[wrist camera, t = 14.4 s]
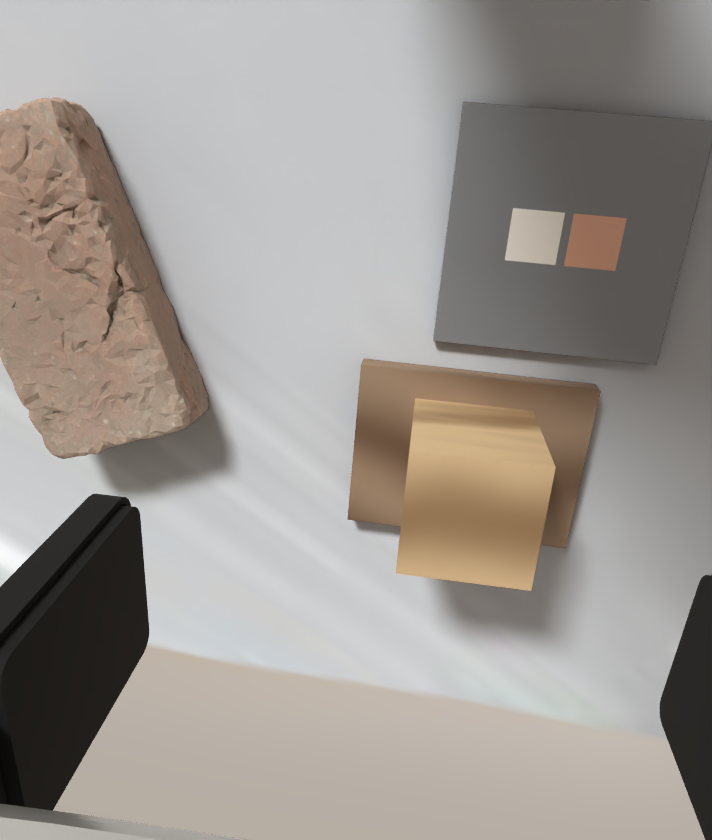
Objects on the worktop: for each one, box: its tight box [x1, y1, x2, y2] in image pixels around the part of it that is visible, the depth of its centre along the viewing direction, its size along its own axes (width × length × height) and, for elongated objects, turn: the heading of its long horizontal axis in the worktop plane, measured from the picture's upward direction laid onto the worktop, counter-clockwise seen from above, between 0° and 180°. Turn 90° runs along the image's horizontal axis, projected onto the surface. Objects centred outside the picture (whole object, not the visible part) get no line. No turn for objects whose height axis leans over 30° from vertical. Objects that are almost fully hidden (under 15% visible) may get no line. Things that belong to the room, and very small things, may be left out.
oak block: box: [396, 398, 556, 591], centre depth 32 cm, size 6×6×7 cm
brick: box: [0, 98, 209, 459], centre depth 33 cm, size 17×8×5 cm, turn 18°
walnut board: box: [348, 359, 601, 548], centre depth 35 cm, size 9×12×1 cm
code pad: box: [433, 102, 712, 365], centre depth 31 cm, size 11×11×1 cm
